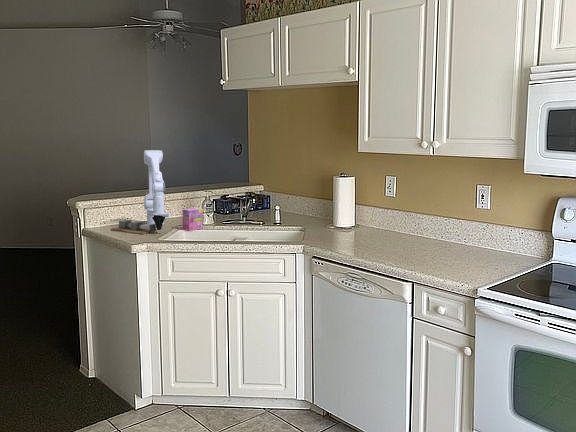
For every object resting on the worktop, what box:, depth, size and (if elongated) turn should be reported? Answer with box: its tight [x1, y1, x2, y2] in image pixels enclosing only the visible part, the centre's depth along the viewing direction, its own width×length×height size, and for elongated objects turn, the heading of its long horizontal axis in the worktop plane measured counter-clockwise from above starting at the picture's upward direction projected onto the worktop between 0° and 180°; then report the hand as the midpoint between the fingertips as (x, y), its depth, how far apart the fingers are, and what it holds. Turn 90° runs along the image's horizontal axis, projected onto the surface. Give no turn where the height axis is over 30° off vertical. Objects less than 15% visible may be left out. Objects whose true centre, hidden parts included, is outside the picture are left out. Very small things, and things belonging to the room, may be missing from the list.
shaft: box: [126, 223, 157, 233], centre depth 318 cm, size 4×20×4 cm, turn 64°
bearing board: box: [110, 219, 158, 236], centre depth 320 cm, size 12×22×5 cm, turn 64°
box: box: [182, 206, 204, 232], centre depth 326 cm, size 10×6×12 cm, turn 143°
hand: (159, 229), depth 312 cm, fingers closed
